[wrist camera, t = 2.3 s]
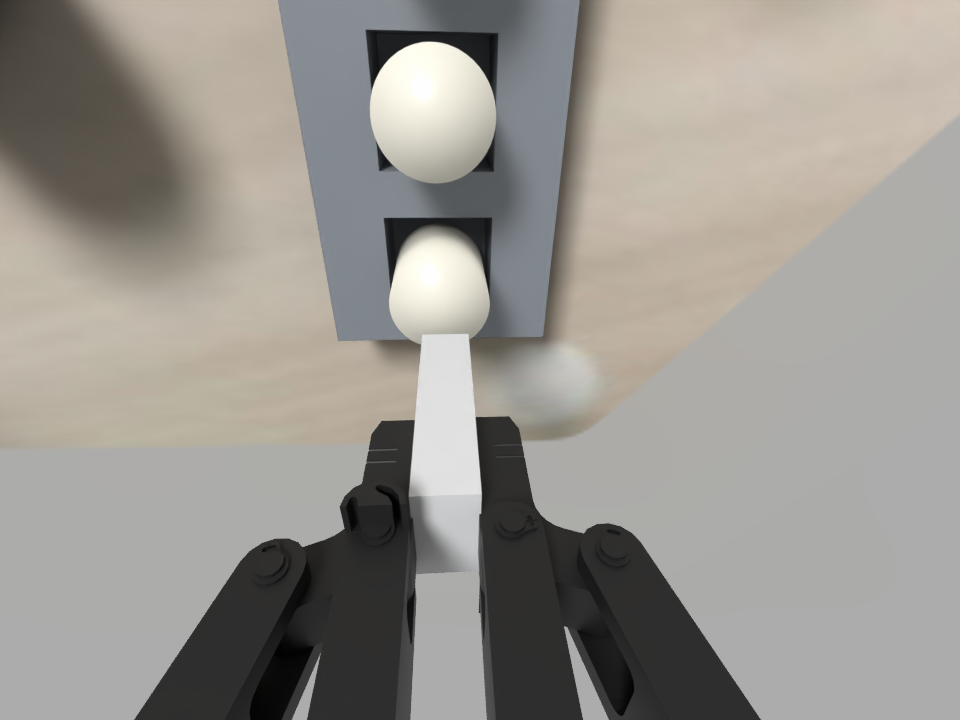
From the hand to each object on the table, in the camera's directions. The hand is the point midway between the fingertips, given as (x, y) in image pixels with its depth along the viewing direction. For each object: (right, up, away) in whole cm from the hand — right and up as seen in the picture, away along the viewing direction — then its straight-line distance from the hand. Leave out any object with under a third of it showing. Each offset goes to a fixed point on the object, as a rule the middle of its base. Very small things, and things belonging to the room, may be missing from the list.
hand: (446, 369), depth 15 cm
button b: (-1, +11, +4) cm, 12 cm away
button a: (-1, +5, +8) cm, 9 cm away
